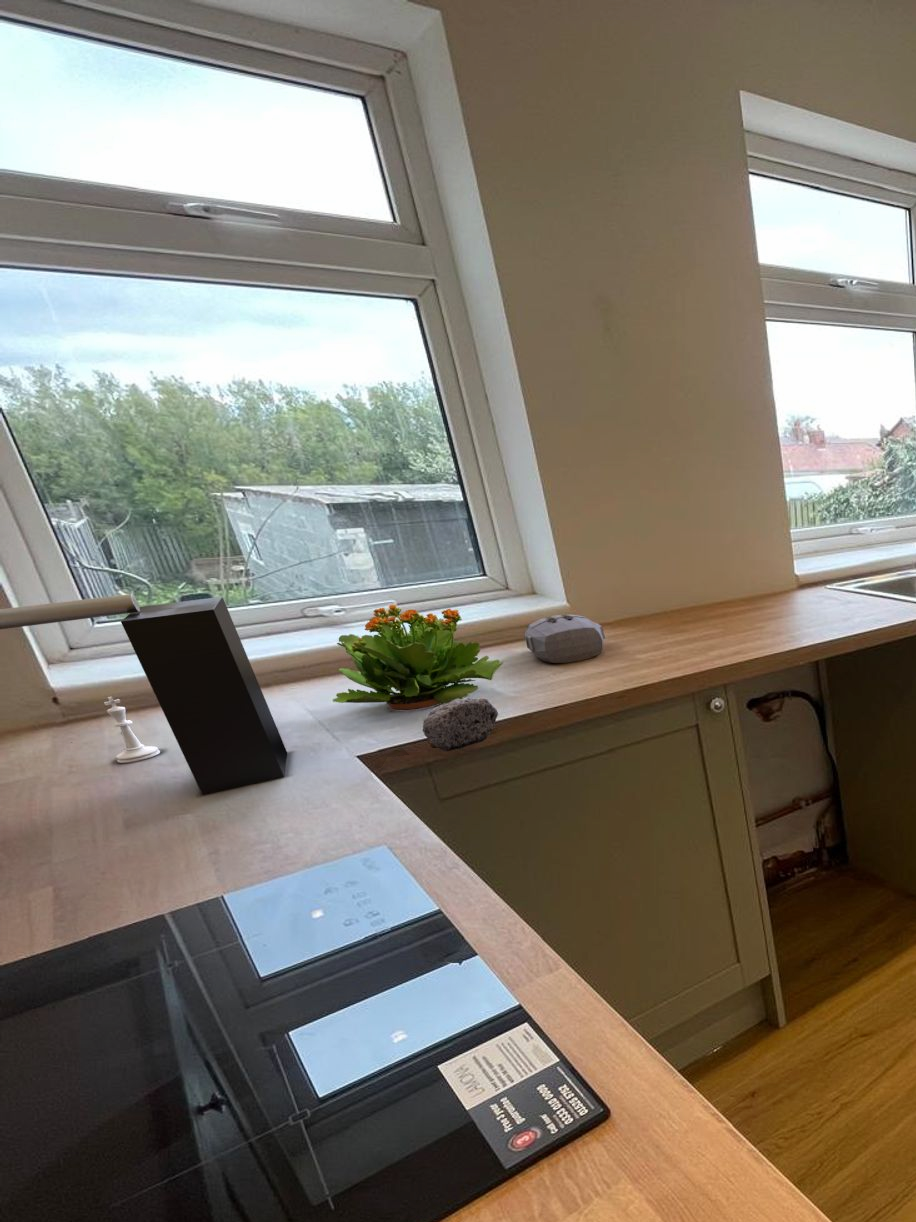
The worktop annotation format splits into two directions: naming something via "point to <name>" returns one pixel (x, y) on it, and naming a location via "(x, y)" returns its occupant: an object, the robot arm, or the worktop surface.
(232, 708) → the black box
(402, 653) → the potted flower
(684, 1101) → the worktop surface
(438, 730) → the pumice stone
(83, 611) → the matchstick with dark head
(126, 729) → the chess piece
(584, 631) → the soft grey pack
